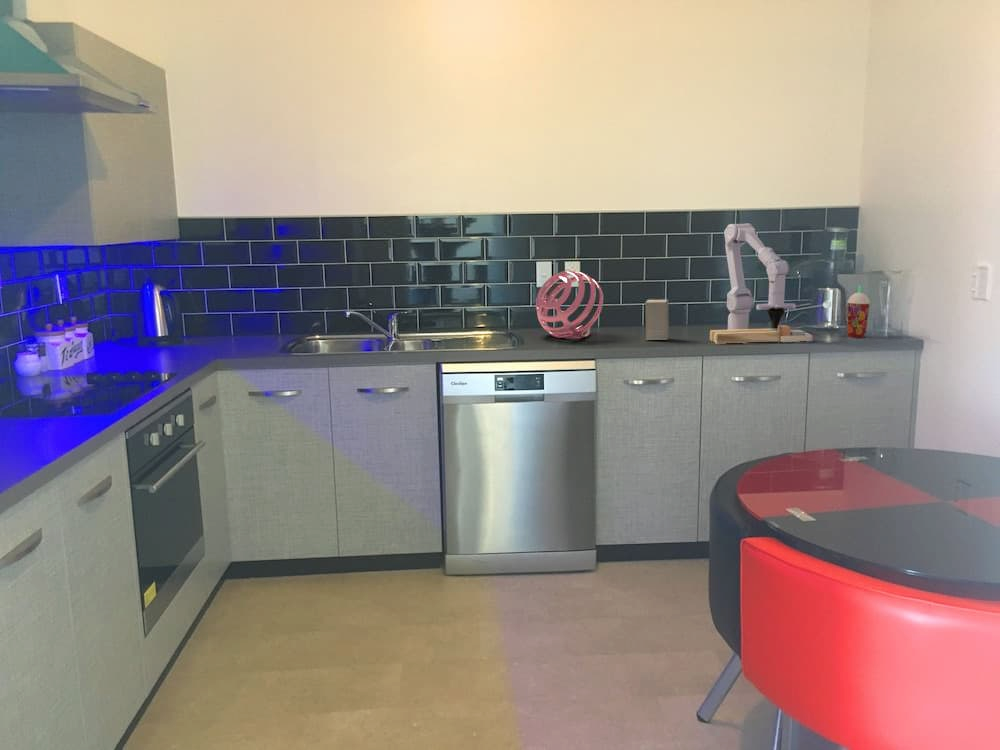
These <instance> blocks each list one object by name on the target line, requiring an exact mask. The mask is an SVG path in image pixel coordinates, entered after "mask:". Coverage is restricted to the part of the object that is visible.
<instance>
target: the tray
mask: <svg viewBox="0 0 1000 750" xmlns="http://www.w3.org/2000/svg"><path fill="white" fill-rule="evenodd" d="M779 341H781V342H795V343H801V342H800V341H807V342H806V343H810V342H809V341H813V342H814V335H813V334H810V333H807V332H805V335H804V336H780V339H779Z"/></svg>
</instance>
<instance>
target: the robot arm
mask: <svg viewBox="0 0 1000 750" xmlns="http://www.w3.org/2000/svg"><path fill="white" fill-rule="evenodd" d="M723 233H724V241H725V253H726V260H727V267H728V273H729V281H730V288H731V289H730V290H729V292H727V295H726V297H727V298H726V299H727V300H726V308H727V309H728V311H729V314H728V316H727V330H733V329H749V322H750V313H751V310H752V309H753V308H754V305H755V300H754V298H753V295H752V291H751V290H750V289H749V288H747V287H746V282H745V275H744V268H743V260H742V254H741V248H742V246H743V245H745V244H746V243H747V244H749V246H750V247H752V248H753V250H755V251H756V253H757V258H758V259H759V261H760V262H761V263H762V264H763V265H764V267H765V268H766V273H767V276H768V278H767V279H768V281H769V283H768V302H767V303H758V304H756V307H755V308H756V310H758V311H761V310H763V311H764V310H766V312H767V313H768V316H769V319H770V322H771V327H772V328H771V329H778V325H779V324H780V321H781V318H782V317H783V315H784V314H785V311H786V310H796V306H797V305H796V303H794V302H793V303H792V302H791V303H787V302H785V295H786V294H785V292H786V291H785V290H786V276H787V275H788V274H789V271H790V265H789V262H788V261H787V260H784V259H781V258H780V257H779V256H778V255H777V254H776V253H775V252H774V249H773V248H772V247H769V246H765V244H764V243H763V242H762V240H761V239H760V238H759V236H758V235H757V234H756V229H755V228H754V226H753V225H752V224H751V223H749V222H748V223H747V222H746V223H730V224H728V225H727V226H726V228H725V230H724V232H723Z"/></svg>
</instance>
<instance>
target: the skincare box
mask: <svg viewBox="0 0 1000 750" xmlns="http://www.w3.org/2000/svg"><path fill="white" fill-rule="evenodd" d="M644 303H645V341H646V340H667V341H668V339H669V337H670V336H669V335H670V333H669V330H670V327H669V299H647V300H646V301H645V302H644Z"/></svg>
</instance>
